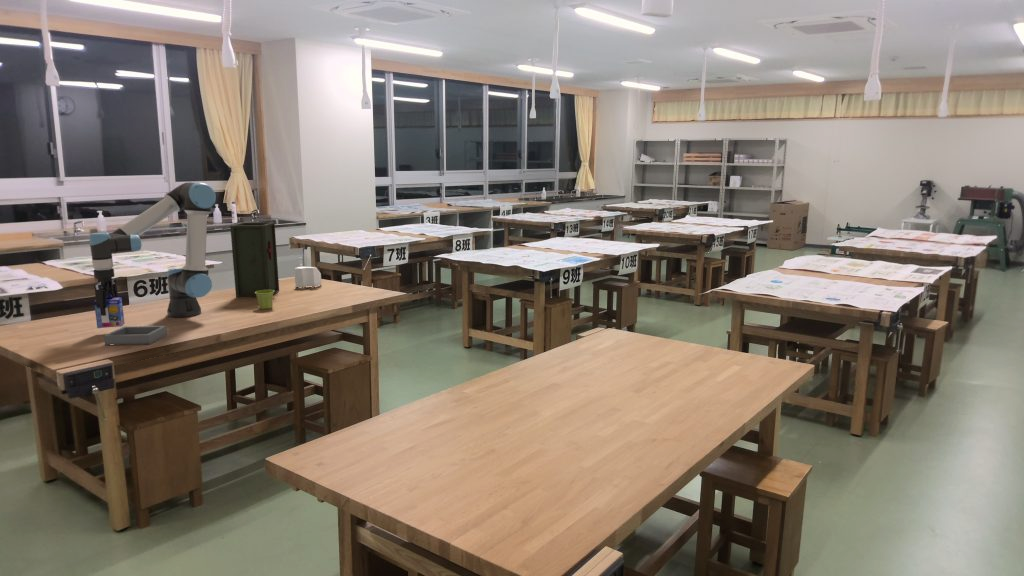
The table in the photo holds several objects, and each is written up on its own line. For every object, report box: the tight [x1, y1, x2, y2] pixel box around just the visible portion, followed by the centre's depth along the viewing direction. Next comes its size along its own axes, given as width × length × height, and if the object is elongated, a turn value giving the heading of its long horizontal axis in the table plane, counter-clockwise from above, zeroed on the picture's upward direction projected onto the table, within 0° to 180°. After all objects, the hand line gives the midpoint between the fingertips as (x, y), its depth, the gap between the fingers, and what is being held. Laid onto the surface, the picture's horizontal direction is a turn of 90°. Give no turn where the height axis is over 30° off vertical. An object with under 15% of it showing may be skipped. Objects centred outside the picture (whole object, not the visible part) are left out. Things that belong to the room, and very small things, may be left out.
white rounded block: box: [293, 266, 322, 288], centre depth 403 cm, size 11×11×12 cm
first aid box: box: [229, 222, 280, 298], centre depth 377 cm, size 18×18×40 cm
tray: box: [103, 325, 168, 346], centre depth 283 cm, size 16×18×4 cm
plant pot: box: [255, 290, 275, 310], centre depth 344 cm, size 9×9×9 cm
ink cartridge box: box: [93, 294, 125, 329], centre depth 292 cm, size 10×6×14 cm, turn 109°
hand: (110, 320), depth 293 cm, fingers closed on ink cartridge box, 6 cm apart
